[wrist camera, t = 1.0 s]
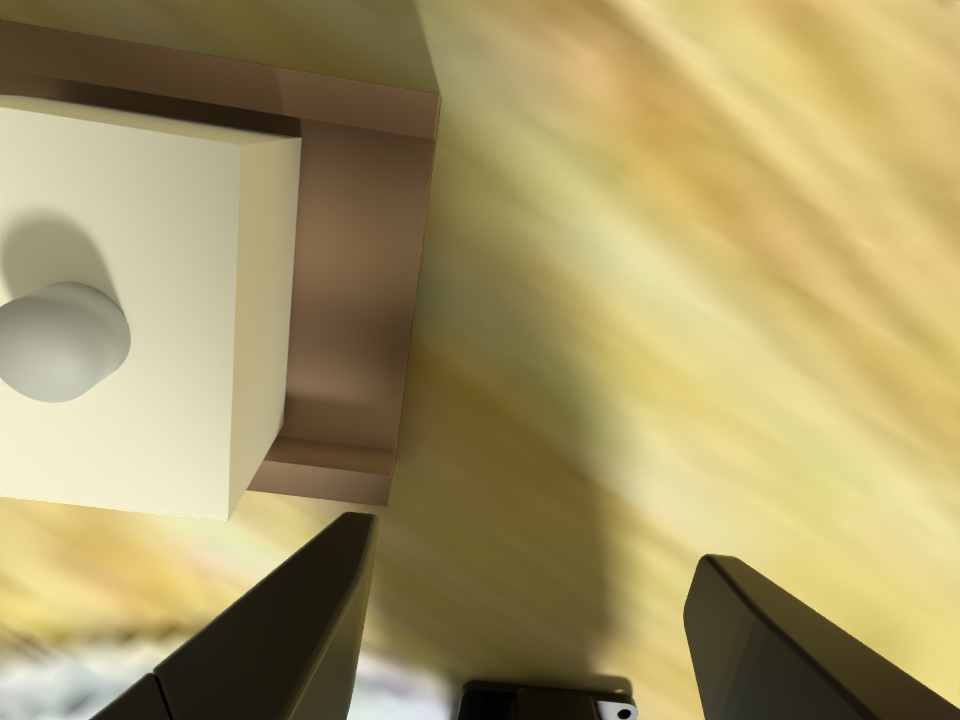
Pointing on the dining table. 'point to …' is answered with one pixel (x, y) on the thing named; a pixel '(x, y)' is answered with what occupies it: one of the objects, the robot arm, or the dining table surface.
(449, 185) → the dining table surface
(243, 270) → the carriage
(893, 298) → the dining table surface
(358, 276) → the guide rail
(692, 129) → the dining table surface
